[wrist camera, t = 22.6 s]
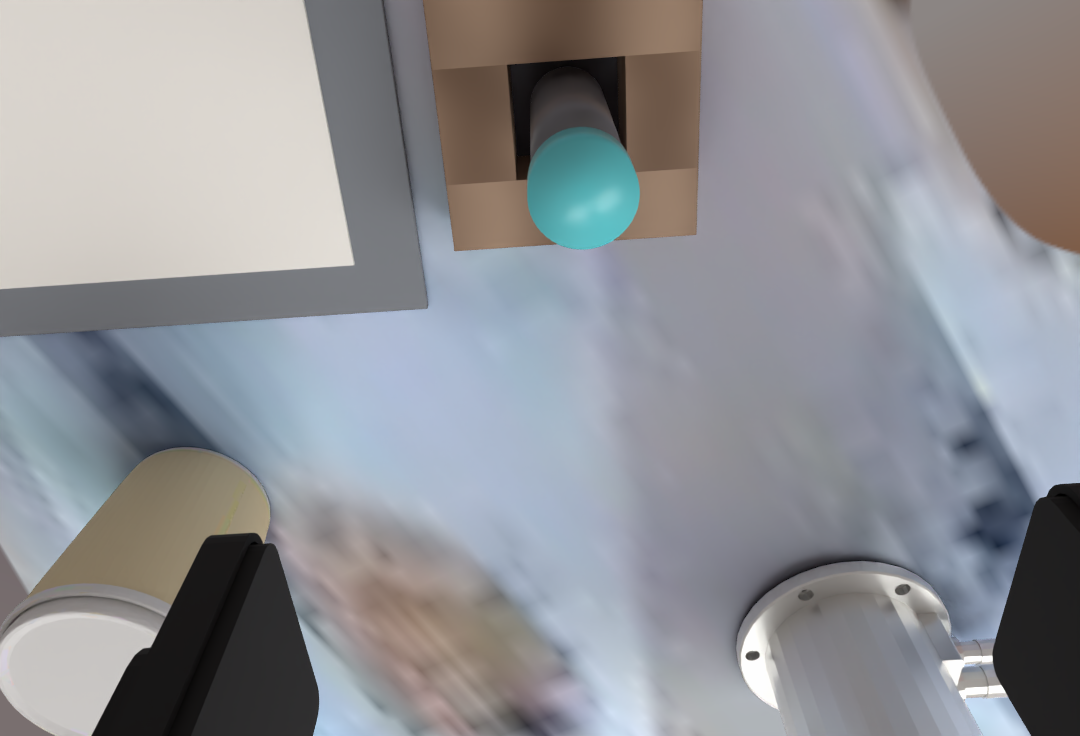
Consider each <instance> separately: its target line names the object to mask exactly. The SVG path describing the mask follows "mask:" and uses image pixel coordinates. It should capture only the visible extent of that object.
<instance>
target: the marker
mask: <svg viewBox="0 0 1080 736" xmlns="http://www.w3.org/2000/svg"><path fill="white" fill-rule="evenodd" d="M530 150H531V163H530V166H529V170H528V176H527V201H528V208H529V211H530V215H531V217H532V219H533V221H534V223H535V225H536V226H537V228H538V229H539V230H540V231H541V232H542V233H543V234H544V235H545V236H546V237H547V238H549V239H550V240H551V241H553V242H555V243H557V244H559V245H561V246H564V247H567V248H571V249H592V248H597V247H600V246H603V245H605V244H608V243H609V242H611V241H613V240H614V239H616V238H617V237H619V236H620V235H621V234H622V233H623V232H624V231H625V230H626V229H627V228H628V226H629V225H630V223H631V222H632V220H633V218H634V216H635V214H636V212H637V209H638V205H639V199H640V188H639V182H638V178H637V175H636V172H635V170H634V167H633V164H632V162H631V159H630V157H629V155H628V153H627V151H626V149H625V148H624V147H623V145H622V144H621V142H620V139H619V136H618V133H617V130H616V128H615V125H614V122H613V119H612V117H611V114H610V111H609V108H608V106H607V103H606V100H605V97H604V95H603V92H602V89H601V87H600V85H599V83H598V82H597V81H596V79H595V78H594V77H593V76H592V75H590V74H589V73H588V72H586V71H584V70H582V69H580V68H576V67H560V68H556V69H554V70H551V71H550V72H548V73H546V74H545V75H544V76H543V77H542V78H541V79H540V80H539V81H538V82H537V84H536V86H535V87H534V89H533V92H532V95H531V100H530Z"/></svg>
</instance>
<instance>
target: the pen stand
mask: <svg viewBox="0 0 1080 736" xmlns="http://www.w3.org/2000/svg"><path fill="white" fill-rule="evenodd" d="M423 6H424V13H425V21H426V29H427V37H428V45H429V53H430V61H431V69H432V77H433V85H434V93H435V100H436V108H437V116H438V124H439V132H440V140H441V148H442V156H443V164H444V172H445V179H446V187H447V195H448V203H449V211H450V219H451V227H452V235H453V243H454V251H464V250H479V249H494V248H508V247H523V246H538V245H553V244H557V243H555V242H553V241H551V240H550V239H549V238H547V237H546V236H545V235H544V234H543V233H542V232H541V231H540V230H539V229H538V228H537V226H536V225H535V223H534V221H533V219H532V217H531V215H530V211H529V208H528V201H527V176H528V170H529V166H530V163H531V155H525V156H517V144H516V132H515V120H514V107H513V95H512V83H511V71H510V64H523V63H536V62H550V61H564V60H578V59H591V58H605V57H617V77H618V126H619V139H620V142H621V144H622V145H623V147H624V148H625V149H626V151H627V153H628V155H629V157H630V159H631V162H632V164H633V167H634V170H635V172H636V175H637V178H638V182H639V188H640V199H639V205H638V209H637V212H636V214H635V216H634V218H633V220H632V222H631V223H630V225H629V226H628V228H627V229H626V230H625V231H624V232H623V233H622V234H621V235H620V236H619V237H617V238H616V239H614V240H627V239H641V238H656V237H671V236H686V235H696V227H697V190H698V154H699V117H700V81H701V44H702V8H703V0H423Z"/></svg>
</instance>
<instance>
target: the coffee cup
mask: <svg viewBox="0 0 1080 736" xmlns="http://www.w3.org/2000/svg"><path fill="white" fill-rule="evenodd" d="M269 523H270V505H269V500H268V497H267V494H266V492H265V490H264V488H263V487H262V485H261V483H260V482H259V481H258V480H257V478H256V477H255V476H254V475H253V474H252V473H251V472H250V471H249V470H248V469H247V468H245V467H244V466H243V465H241V464H240V463H238V462H237V461H235V460H233V459H232V458H229V457H227V456H225V455H223V454H221V453H218V452H214V451H211V450H207V449H202V448H194V447H178V448H171V449H166V450H163V451H160V452H157V453H155V454H153V455H151V456H149V457H147V458H146V459H144V460H143V461H141V462H140V463H139V464H138V465H137V466H136V467H135V468H134V469H133V470H132V471H131V473H130V474H129V475H128V476H127V477H126V478H125V479H124V480H123V482H122V483H121V484H120V485H119V486H118V488H117V489H116V490H115V491H114V492H113V493H112V495H111V496H110V497H109V498H108V499H107V501H106V502H105V503H104V504H103V505H102V507H101V508H100V509H99V510H98V511H97V513H96V514H95V515H94V516H93V517H92V519H91V520H90V521H89V522H88V523H87V525H86V526H85V527H84V528H83V529H82V531H81V532H80V533H79V534H78V535H77V537H76V538H75V539H74V540H73V541H72V543H71V544H70V545H69V546H68V548H67V549H66V550H65V551H64V552H63V554H62V555H61V556H60V557H59V558H58V560H57V561H56V562H55V563H54V565H53V566H52V567H51V568H50V569H49V571H48V572H47V573H46V574H45V575H44V577H43V578H42V579H41V580H40V582H39V583H38V584H37V585H36V587H35V588H34V589H33V590H32V592H31V593H30V594H29V596H28V597H27V598H26V599H25V600H24V601H23V602H21V603H20V604H19V605H18V606H17V607H16V608H15V609H14V610H13V611H12V612H11V613H10V614H9V615H8V617H7V618H6V619H5V620H4V622H3V624H2V626H1V627H0V688H1V690H2V692H3V694H4V695H5V697H6V698H7V699H8V701H9V702H10V703H11V704H12V705H13V707H14V708H15V709H16V710H18V711H19V712H20V713H21V714H22V715H23V716H24V717H26V718H27V719H28V720H30V721H31V722H32V723H34V724H35V725H37V726H38V727H40V728H42V729H44V730H45V731H47V732H49V733H51V734H53V735H55V736H91V735H92V733H93V731H94V729H95V728H96V726H97V724H98V722H99V720H100V718H101V716H102V714H103V712H104V710H105V708H106V706H107V704H108V702H109V700H110V698H111V697H112V695H113V693H114V691H115V689H116V687H117V685H118V683H119V681H120V679H121V677H122V675H123V673H124V671H125V669H126V668H127V666H128V664H129V663H130V661H131V660H132V658H133V657H134V655H135V654H137V653H138V652H139V651H140V650H142V649H143V648H150V647H151V646H152V644H153V642H154V640H155V638H156V636H157V634H158V632H159V630H160V628H161V626H162V624H163V622H164V620H165V618H166V616H167V614H168V612H169V610H170V608H171V606H172V604H173V602H174V600H175V598H176V596H177V594H178V592H179V590H180V588H181V586H182V584H183V582H184V580H185V578H186V576H187V574H188V572H189V569H190V567H191V565H192V563H193V561H194V559H195V557H196V555H197V553H198V551H199V549H200V547H201V545H202V544H203V542H204V541H205V539H206V538H207V537H209V536H210V535H223V534H239V533H257V534H258V535H259V536H260V537H261V539H262V542H263V544H264V542H265V538H266V535H267V531H268V527H269Z"/></svg>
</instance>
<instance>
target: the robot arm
mask: <svg viewBox="0 0 1080 736" xmlns="http://www.w3.org/2000/svg"><path fill="white" fill-rule="evenodd" d="M736 652H737V660H738V664H739V667H740V670H741V673H742V677H743V679H744V681H745V682H746V684H747V686H748V687H749V689H750V690H751V691H752V692H753V693H754V694H755V695H756V696H757V697H758V698H759V699H760V700H762V701H764V702H765V703H767V704H768V705H770V706H772V707H773V708H776V709H778V710H779V712H780V715H781V718H782V721H783V725H784V728H785V731H786V734H787V736H983V735H982V733H981V731H980V729H979V727H978V725H977V723H976V721H975V720H974V718H973V716H972V714H971V712H970V710H969V708H968V707H967V705H966V703H965V698H975V697H982V698H983V699H984V698H1002V697H1009V699H1010V701H1011V702H1012V704H1013V706H1014V707H1015V709H1016V711H1017V713H1018V714H1019V716H1020V718H1021V719H1022V721H1023V723H1024V724H1025V726H1026V728H1027V729H1028V731H1029V733H1030V734H1031V736H1080V483H1072V484H1059V485H1055V486H1053V487H1052V488H1051V489H1050V490H1049V492H1048V495H1047V497H1043V498H1040V499H1039V500H1038V501H1037V502H1036V504H1035V506H1034V509H1033V512H1032V516H1031V519H1030V523H1029V526H1028V529H1027V533H1026V536H1025V540H1024V543H1023V547H1022V550H1021V554H1020V557H1019V560H1018V564H1017V567H1016V571H1015V574H1014V578H1013V581H1012V585H1011V588H1010V591H1009V595H1008V598H1007V602H1006V605H1005V609H1004V612H1003V616H1002V619H1001V622H1000V626H999V629H998V633H997V636H996V639H980V640H973V641H965V642H959V640H958V639H957V638H955V637H951V622H950V618H949V614H948V611H947V610H946V608H945V606H944V604H943V602H942V600H941V599H940V597H939V595H938V594H937V593H936V592H935V590H934V589H933V588H932V587H931V585H930V584H929V583H927V582H926V581H925V580H923V579H922V578H921V577H919V576H918V575H916V574H914V573H912V572H910V571H908V570H906V569H903V568H901V567H897V566H893V565H889V564H885V563H879V562H868V561H855V562H840V563H835V564H830V565H825V566H820V567H817V568H814V569H811V570H808V571H805V572H802V573H800V574H798V575H796V576H794V577H792V578H790V579H788V580H786V581H784V582H782V583H781V584H779V585H778V586H776V587H775V588H774V589H772V590H771V591H769V592H768V593H766V594H765V595H764V596H763V597H762V598H761V599H760V600H759V601H758V602H757V603H756V604H755V605H754V606H753V607H752V609H751V610H750V612H749V613H748V615H747V616H746V617H745V619H744V620H743V623H742V625H741V628H740V630H739V633H738V637H737V644H736ZM964 664H976V665H975V666H964ZM318 710H319V691H318V686H317V683H316V679H315V676H314V672H313V669H312V666H311V662H310V659H309V656H308V652H307V649H306V645H305V642H304V639H303V635H302V632H301V629H300V625H299V622H298V618H297V615H296V612H295V608H294V605H293V601H292V598H291V595H290V591H289V588H288V585H287V581H286V578H285V574H284V571H283V568H282V564H281V561H280V558H279V554H278V551H277V549H276V547H275V545H274V544H271V543H269V544H263V542H262V539H261V537H260V536H259V535H258V534H257V533H239V534H223V535H210V536H209V537H207V538H206V539H205V541H204V542H203V544H202V545H201V547H200V549H199V551H198V553H197V555H196V557H195V559H194V561H193V563H192V565H191V567H190V569H189V572H188V574H187V576H186V578H185V580H184V582H183V584H182V586H181V588H180V590H179V592H178V594H177V596H176V598H175V600H174V602H173V604H172V606H171V608H170V610H169V612H168V614H167V616H166V618H165V620H164V622H163V624H162V626H161V628H160V630H159V632H158V634H157V636H156V638H155V640H154V642H153V644H152V646H151V647H150V648H143V649H142V650H140V651H139V652H138V653H137V654H135V655H134V657H133V658H132V660H131V661H130V663H129V664H128V666H127V668H126V669H125V671H124V673H123V675H122V677H121V679H120V681H119V683H118V685H117V687H116V689H115V691H114V693H113V695H112V697H111V698H110V700H109V702H108V704H107V706H106V708H105V710H104V712H103V714H102V716H101V718H100V720H99V722H98V724H97V726H96V728H95V729H94V731H93V733H92V735H91V736H313V733H314V729H315V725H316V721H317V716H318Z"/></svg>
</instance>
